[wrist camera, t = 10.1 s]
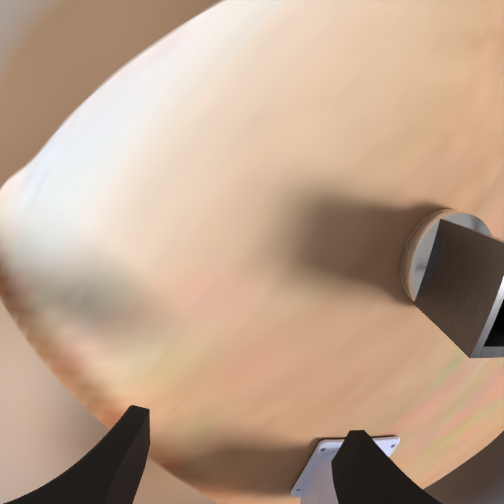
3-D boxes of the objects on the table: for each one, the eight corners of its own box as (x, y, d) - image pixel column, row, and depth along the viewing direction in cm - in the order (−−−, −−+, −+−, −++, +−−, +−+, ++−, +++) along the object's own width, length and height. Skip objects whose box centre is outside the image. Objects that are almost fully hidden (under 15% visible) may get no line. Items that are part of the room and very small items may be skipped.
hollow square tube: (470, 311, 17) (524, 355, 11) (413, 303, 17) (469, 358, 11) (495, 237, 16) (560, 266, 10) (440, 218, 15) (512, 246, 10)
